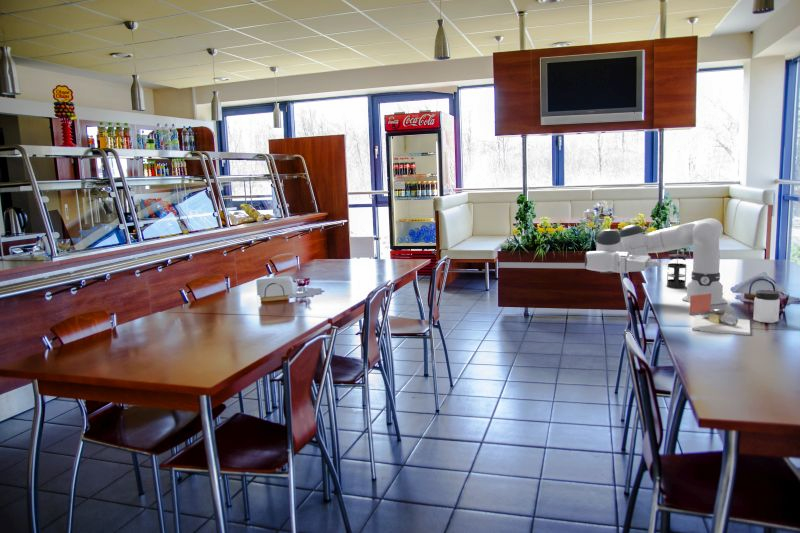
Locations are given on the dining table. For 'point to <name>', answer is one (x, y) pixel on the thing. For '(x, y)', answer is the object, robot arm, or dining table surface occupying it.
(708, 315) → the valve body
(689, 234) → the robot arm
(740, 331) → the mounting plate
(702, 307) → the lever
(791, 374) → the dining table surface
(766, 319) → the jar
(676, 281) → the french press
